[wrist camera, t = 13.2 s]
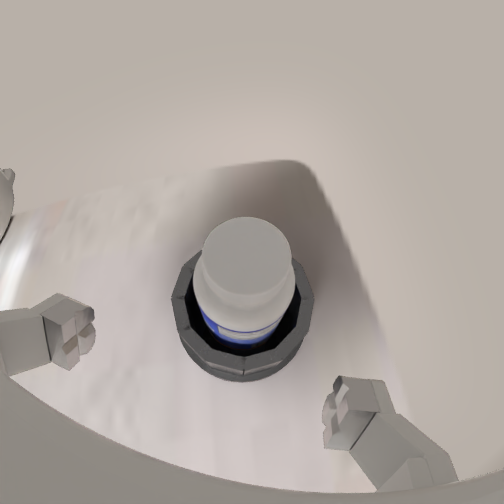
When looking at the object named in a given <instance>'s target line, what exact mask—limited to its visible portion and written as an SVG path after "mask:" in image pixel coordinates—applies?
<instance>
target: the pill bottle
mask: <svg viewBox="0 0 504 504" xmlns="http://www.w3.org/2000/svg"><path fill="white" fill-rule="evenodd" d="M291 259H292V255H291V249H290V246H289V243H288V241H287V239H286V237H285V236H284V234H283V233H282V232H281V231H280V230H279V229H278V228H277V227H276V226H274V225H273V224H271V223H269V222H267V221H265V220H263V219H259V218H255V217H237V218H233V219H230V220H227V221H225V222H223V223H221V224H219V225H218V226H217V227H215V228H214V229H213V230H212V231H211V232H210V234H209V235H208V237H207V238H206V240H205V242H204V245H203V249H202V255H201V256H200V258H199V259H198V261H197V264H196V267H195V270H194V275H193V287H194V292H195V296H196V299H197V302H198V304H199V307H200V310H201V312H202V315H203V318H204V321H205V324H206V326H207V329H208V330H209V332H210V334H211V335H212V336H213V337H214V339H215V340H216V341H218V342H219V343H220V344H222V345H224V346H226V347H228V348H231V349H235V350H250V349H254V348H257V347H259V346H261V345H263V344H264V343H265V342H266V341H267V340H268V339H270V337H271V336H272V335H273V333H274V331H275V330H276V328H277V326H278V324H279V322H280V320H281V319H282V317H283V315H284V313H285V312H286V310H287V308H288V306H289V304H290V302H291V300H292V297H293V294H294V290H295V274H294V270H293V266H292V264H291Z"/></svg>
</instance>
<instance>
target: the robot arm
mask: <svg viewBox="0 0 504 504" xmlns="http://www.w3.org/2000/svg"><path fill="white" fill-rule="evenodd" d="M14 178H15V173H14V172H13V171H12V169H4V170H1V169H0V240H1V238H2V236H3V234H4V232H5V230H6V228H7V226H8V223H9V220H10V218H11V214H12V210H13V204H14V194H13V190H12V185H13V182H14ZM94 319H95V318H94V310H93V309H92V308H91V307H90V306H88V305H85V304H83V303H81V302H79V301H76V300H74V299H72V298H69V297H68V296H65V295H63V294H60V293H57V294H55V295H53V296H51V297H50V298H48V299H46V300H45V301H43V302H41V303H40V304H38V305H36V306H35V307H33V308H31V309H28V308H23V309H14V310H5V311H0V504H504V468H502V469H500V470H497V471H493V472H490V473H487V474H484V475H480V476H477V477H473V478H469V479H465V480H461V481H459V480H458V477H457V475H456V472H455V469H454V467H453V464H452V461H451V459H450V456H449V454H448V453H447V452H446V451H445V450H443V449H442V448H441V447H440V446H438V445H437V444H436V443H435V442H433V441H432V440H431V439H430V438H428V437H427V436H426V435H425V434H424V433H422V432H421V431H420V430H419V429H418V428H416V427H415V426H414V425H413V424H412V423H410V422H409V421H408V420H407V419H406V418H404V417H403V416H402V415H401V414H396V412H395V409H394V406H393V404H392V401H391V398H390V395H389V393H388V390H387V387H386V385H385V382H384V381H382V380H374V379H360V378H352V377H345V376H338V377H337V379H336V380H335V382H334V384H333V389H334V392H333V393H331V394H329V395H328V396H327V399H326V401H325V403H324V407H323V410H322V423H323V424H324V425H325V426H326V428H325V430H324V432H323V440H324V448H326V449H335V450H345V451H349V452H350V454H351V455H352V457H353V458H354V459H355V461H356V462H357V463H358V465H359V466H360V467H361V469H362V470H363V471H364V473H365V474H366V475H367V477H368V478H369V479H370V481H371V482H372V483H373V485H374V486H375V487H376V489H377V491H376V492H375V493H320V492H305V491H294V490H285V489H277V488H270V487H263V486H257V485H251V484H246V483H241V482H236V481H231V480H227V479H222V478H218V477H214V476H210V475H206V474H203V473H199V472H196V471H192V470H189V469H185V468H182V467H179V466H176V465H173V464H170V463H167V462H164V461H161V460H159V459H156V458H153V457H151V456H148V455H146V454H143V453H140V452H138V451H136V450H133V449H131V448H128V447H126V446H124V445H122V444H119V443H117V442H115V441H113V440H111V439H109V438H107V437H105V436H102V435H100V434H98V433H96V432H95V431H93V430H91V429H89V428H87V427H85V426H83V425H81V424H79V423H78V422H76V421H74V420H72V419H71V418H69V417H67V416H65V415H64V414H62V413H60V412H59V411H57V410H56V409H54V408H52V407H51V406H49V405H48V404H46V403H45V402H43V401H42V400H40V399H39V398H37V397H36V396H34V395H33V394H31V393H30V392H28V391H27V390H26V389H24V388H23V387H22V386H20V385H19V384H18V383H16V382H15V381H14V380H12V379H11V378H10V377H9V376H12V375H15V374H18V373H21V372H24V371H27V370H30V369H33V368H36V367H39V366H42V365H45V364H48V363H51V362H53V363H55V364H57V365H59V366H61V367H63V368H64V369H66V370H68V371H70V370H71V369H72V368H73V367H74V366H75V365H76V364H77V363H78V362H79V361H80V355H84V354H87V353H88V352H89V351H90V350H91V349H92V347H93V345H94V343H95V337H96V333H95V328H94V327H93V325H92V322H93V320H94Z"/></svg>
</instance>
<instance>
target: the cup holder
mask: <svg viewBox="0 0 504 504" xmlns="http://www.w3.org/2000/svg"><path fill="white" fill-rule="evenodd" d="M201 255H202V250H201V251H200V252H198V253H197V254H196V255H195V256H194V257H192V258H191V259H190V260H189V261H188V262H186V263H185V264H184V266H183V267H182V269H181V272H180V275H179V277H178V280H177V283H176V285H175V288H174V291H173V293H172V296H171V297H172V298H171V300H172V306H173V311H174V316H175V321H176V326H177V330H178V333H179V336H180V339H181V342H182V344H183V346H184V348H185V350H186V351H187V353H188V355H189V356H190V357H191V358H192V359H193V361H194V362H195V363H196V364H197V365H199V366H200V367H201V368H202V369H203V370H205V371H206V372H208V373H209V374H211V375H213V376H215V377H217V378H220V379H223V380H226V381H231V382H242V383H243V382H253V381H258V380H261V379H264V378H267V377H269V376H271V375H273V374H275V373H276V372H278V371H279V370H281V369H282V368H283V367H284V366H286V365H287V364H288V363H289V362H290V361H291V360H292V358H293V357H294V356H295V355H296V353H297V351H298V350H299V348H300V346H301V343H302V341H303V338H304V337H305V336H306V334H307V333H308V331H309V326H310V320H311V314H312V309H313V303H314V295H313V293H312V290H311V288H310V285H309V282H308V280H307V277H306V275H305V272H304V270H303V267H301V265H300V264H299V263H298V262H297V261H296V260H294V259H293V258H292V259H291V264H292V266H293V270H294V274H295V290H294V294H293V297H292V300H291V302H290V304H289V306H288V308H287V310H286V312H285V313H284V315H283V317H282V319H281V320H280V322H279V324H278V326H277V328H276V330H275V331H274V333H273V335H272V336H271V337H270V339H268V340H267V341H266V342H265V343H264V344H263V345H261V346H259V347H257V348H254V349H250V350H235V349H231V348H228V347H226V346H224V345H222V344H220V343H219V342H218V341H216V340H215V339H214V337H213V336H212V335H211V334H210V332H209V330H208V329H207V326H206V324H205V321H204V318H203V315H202V312H201V310H200V307H199V304H198V302H197V299H196V296H195V292H194V287H193V275H194V270H195V267H196V264H197V261H198V259H199V258H200V256H201Z"/></svg>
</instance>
